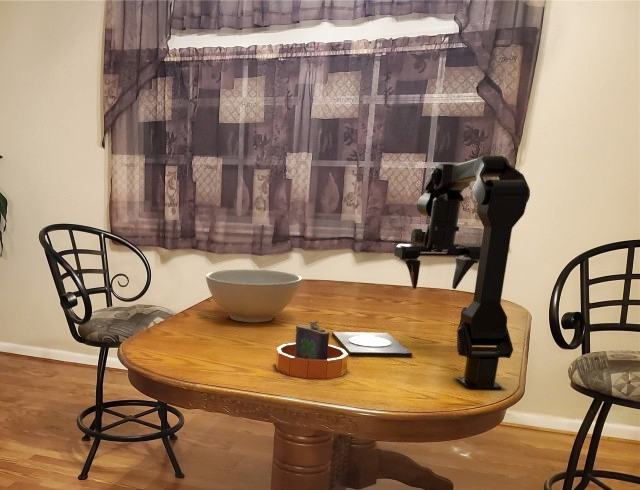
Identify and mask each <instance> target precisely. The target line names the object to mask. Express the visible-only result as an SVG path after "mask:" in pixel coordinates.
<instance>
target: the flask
mask: <svg viewBox="0 0 640 490" xmlns="http://www.w3.org/2000/svg"><path fill="white" fill-rule="evenodd" d="M308 323H309V325H304V324H298V325H297V326H296V328H295V342H294V343H295V354H294V357H298V358H305V359H327V357H328V345H329V343H330V333H329V331H326V329H325V328H321V327H320V325H318V323H320V320H312V321H311V320H310V321H309V322H308Z"/></svg>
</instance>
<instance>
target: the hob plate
mask: <svg viewBox="0 0 640 490" xmlns="http://www.w3.org/2000/svg"><path fill="white" fill-rule="evenodd" d="M331 336H332V337H333V339H334V340H335V341H336V342H337V344H339V345H340V347H341V348H342V349H344V350H345V351H346V352H347V354H348V357H372V358H373V357H376V358H377V357H379V358H412V357H413V352H411V351H410V350H409V348H407V347H405V346H404V345H403V344H402V343H401V342H399V341H398V340H397V339H395V338H394V337H393V336H392V335H391V334H390V333H389V332H366V331H365V332H362V331H360V332H359V331H358V332H357V331H332V334H331Z"/></svg>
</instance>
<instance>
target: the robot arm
mask: <svg viewBox="0 0 640 490" xmlns="http://www.w3.org/2000/svg"><path fill="white" fill-rule="evenodd" d="M490 178H498V179H490ZM485 179H487V180H486V181H485ZM472 182H474V183H473V187H472V189H471V191H472V194H473V196H474V198H475V201H476V204H477V205H476V214H477V216H478V218H479V220H480V222H481V224H482V226H483V230H482V231H483V232H482V236H481V237H482V238H481V245H479V244H477V243H460V244H459V245H458V247H457V244H455V242H456V236H457V235H456V234H457V232H459V231H460V226H458V222H459V215H460V210H461V202H464V200H465V199H464V196H463V195H462V192H463V191H464V190H465V189H467V188H468V187H470V186H471V183H472ZM530 189H531V188H530V186H529V184H528V182H527V180H526V177H525V176H524V174H523V173H521V171H519V170H518V169H517V168H515V167H514V166H512V165H511V164H510V162H509V160H508V158H507V156H503V155H481V156H478V157H477V158H474V159H471V160H467V161H464V162H438V163H437V164H436V165H435V166H434V168H433V169H432V170H431V172H430V174H429V176H428V177H427V179H426V181H425V182H424V184H423V194H422V195H420V197H419V199H418V200H417V202H416V209H417V212H418V213H419V214H420V215H421V216H423V217H427V218H430V219H429V220H430V221H429V223H427V226H426V229H425V231H423V229H422V228H413V229H412V230H411V234H410V243H398V244H397V245H396V247H395V248H394V255H393V256H395V257H397V258H399V260H400V261H403V262H404V263H405V265H406V267H407V270H408V273H409V277H410V282H411V286H412V289H414V290H416V289H417V286H418V282H419V275H420V269H421V260H420V259H418V258H420V257H421V256H425V257H426V256H428V257H429V256H430V257H431V256H435V257H436V256H437V257H438V256H439V257H441V256H442V257H443V256H445V257H447V256H451V257H452V256H453V257H455V269H454V274H453V280H452V285H451V287H452V288H451V289H453V290H456V289H457V288H458V286H459V285H460V283H461V282H462V280H463V279H464V277H465V276H466V274H467V273H468V272H469V270H471V268H472V267H473V266H474V264H477V273H476V278H475V285H474V286H475V288H474V293H473V299H472V301H471V302H470V304H469V305H468V306H464V307H463V308H462V309H461V311H460V321H459V325H458V326H457V329H456V346H457V347H456V349H457V355H458V356H462V357H465V358H466V362H465V367H464V374H463V376H457V377H456V380H457V381H458V382H460V383H461V385H463V386H465V387H466V388H467V389H474V390H475V389H479V390H481V389H483V390H502V388H503V386H502V385H500V384H499V383H498V382H496V379H497V374H498V373H497V372H498V367H499V361H500V359H502V358H504V359H505V358H506V359H511V357H512V354H513V351H514V346H513V343H512V340H511V335H510V332H509V329H508V315H507V314H506V312H505V310H504V308H503V306H502V303H501V302H502V295H503V290H504V289H503V288H504V285H505V284H504V282H505V276H506V269H507V264H508V257H509V252H510V245H511V238H512V232H513V228H514V227H515V226H516V224H517V223H519V221H520V220H521V218H522V217H523V216H524V214H525V212H526V208H527V204H528V202H529V200H530V197H531V190H530ZM417 244H418V245H417Z"/></svg>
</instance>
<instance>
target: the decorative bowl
mask: <svg viewBox="0 0 640 490" xmlns="http://www.w3.org/2000/svg"><path fill="white" fill-rule="evenodd" d="M205 281H206V284H207V287H208V290H209V293H210V294H211V297H212V299H213V300H214V301H215V303H216V304H217V305H218V306H219V308H221V309H222V310H223V311H224V312H226V313H227V314H228V315H229V318H230V319H231V320H233V321H237V322H242V323H243V322H244V323H265V322H270V321H272V320H273V319H274V316H275V315H277V314H279V313H280V312H282V311H283V310H284V309H286V308H287V307H288V306H289V304H290V303H292V301H293V299H294V298H295V296H296V294H297V293H298V292H299V288H300V286H301V284H302V281H303V280H302V277H301V276H300V275H299V274H295V273H292V272H288V271H281V270H280V271H279V270H273V269H272V270H271V269H254V268H253V269H252V268H251V269H250V268H248V269H246V268H243V269H241V268H239V269H224V270H223V269H222V270H215V271H212V272H209V273H207V274H206V275H205Z"/></svg>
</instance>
